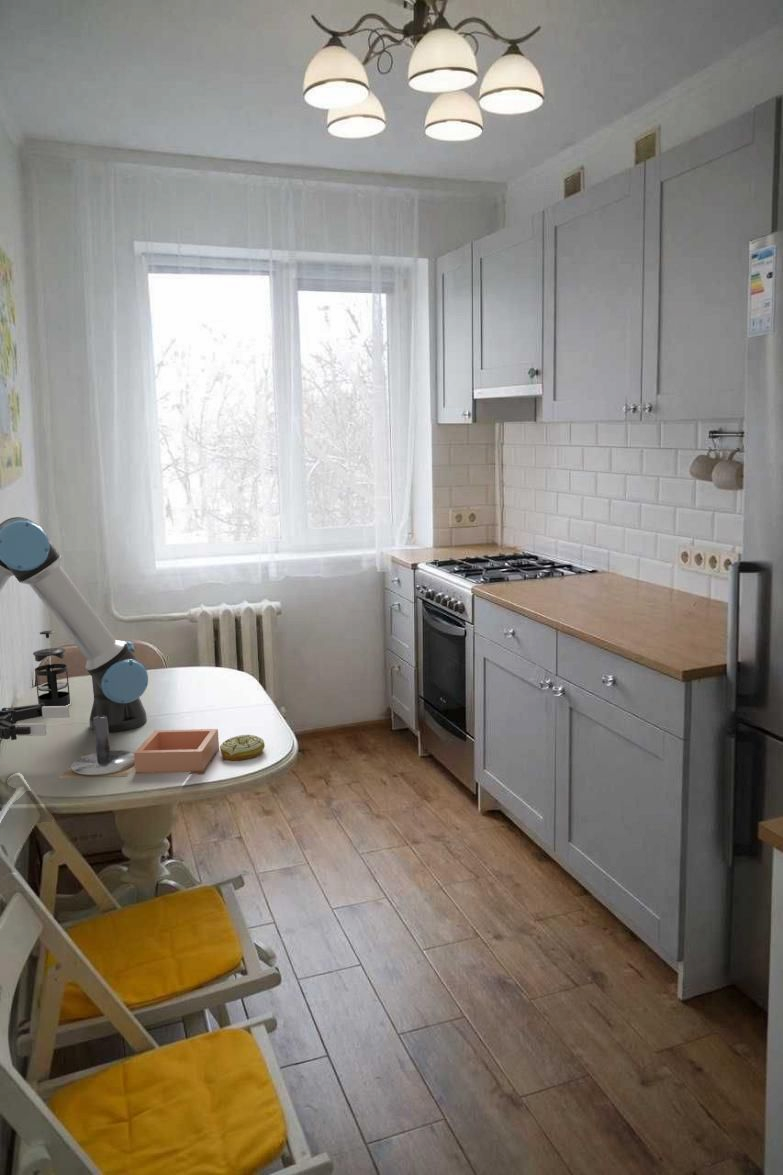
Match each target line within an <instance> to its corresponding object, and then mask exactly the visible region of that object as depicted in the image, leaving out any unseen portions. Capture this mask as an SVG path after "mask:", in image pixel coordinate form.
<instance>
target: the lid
mask: <svg viewBox="0 0 783 1175" xmlns="http://www.w3.org/2000/svg"><path fill="white" fill-rule="evenodd" d="M93 723H94V730H93V731H94V740H95V741H94V742H95V752H94V753H93V754H90V755H86V756H84V757H81V756H80V757H81V758H80V757H79V758H77V759H76V760H75V761H73V762H72V764H71V766H70V767H72V772H73V773H75V774H77V775H81V776H103V775H110V774H114V773H118V772H121V771H124V770H127V769H129V768H131V767H132V766H134V765H135V760H134V753H132V751H128V750H119V749H118V750H111V745H110V744H111V743H110V734H109V733H110V732H109V731H108V721H107V716H105V715H101V716H96V717H94V718H93Z"/></svg>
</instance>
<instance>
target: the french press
mask: <svg viewBox="0 0 783 1175" xmlns="http://www.w3.org/2000/svg"><path fill="white" fill-rule="evenodd" d="M54 633H55V630H43V631H40V632H39V634H40V635H45V638H46V641H47V648H44V649H39V650H36V651H34V652H32V655H33V656H34V659H35V661H36V662H42V661H43V660H45V659H46V658H48V659H49V663H46V664H44V665H40V666H37V667H35V668H34V675H35V683H36V684H35V685H36V686H35V687H36V693H37V702H38V703H37V704H40V703H44V705H45V706H66V705H68V704H70V701H71V694H70V686H69V683H70V682H69V675H68V667H67V664H66V663H65V664H64V663H52V660H51V659H52V658H51V656H54V657H57V658H59V659H64V658H65V652H66V649H64V648H62V647H61V648H60V647H50V642H49V641H50V639H49V638H50V634H51V635H52V634H54ZM64 673H65V674H66V681H58V678H57V675H60V674H64ZM38 676H40V677H44V676H46V683H42V684H40V685H38ZM65 688H67V691H65V690H64V689H65ZM60 690H61V691H60ZM63 690H64V691H63ZM39 692H46V693H42V694H39Z"/></svg>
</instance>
